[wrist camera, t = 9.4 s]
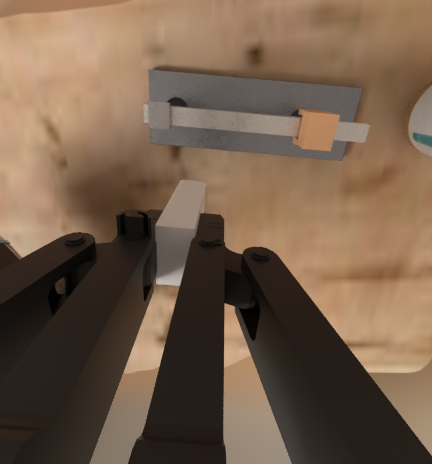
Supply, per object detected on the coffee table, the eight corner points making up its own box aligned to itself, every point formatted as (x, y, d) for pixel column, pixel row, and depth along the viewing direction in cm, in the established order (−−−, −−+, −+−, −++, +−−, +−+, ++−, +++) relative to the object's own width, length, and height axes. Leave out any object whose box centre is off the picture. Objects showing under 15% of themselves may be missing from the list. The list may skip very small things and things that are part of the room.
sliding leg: (283, 134, 40) (302, 149, 29) (288, 106, 38) (310, 111, 27) (303, 136, 40) (330, 152, 29) (309, 108, 38) (340, 113, 27)
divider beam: (163, 119, 41) (142, 127, 31) (163, 99, 39) (140, 100, 30) (335, 135, 40) (366, 147, 31) (340, 115, 39) (375, 121, 30)
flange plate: (153, 142, 43) (150, 143, 42) (151, 70, 39) (148, 69, 38) (339, 159, 43) (342, 161, 42) (359, 88, 38) (363, 88, 37)
